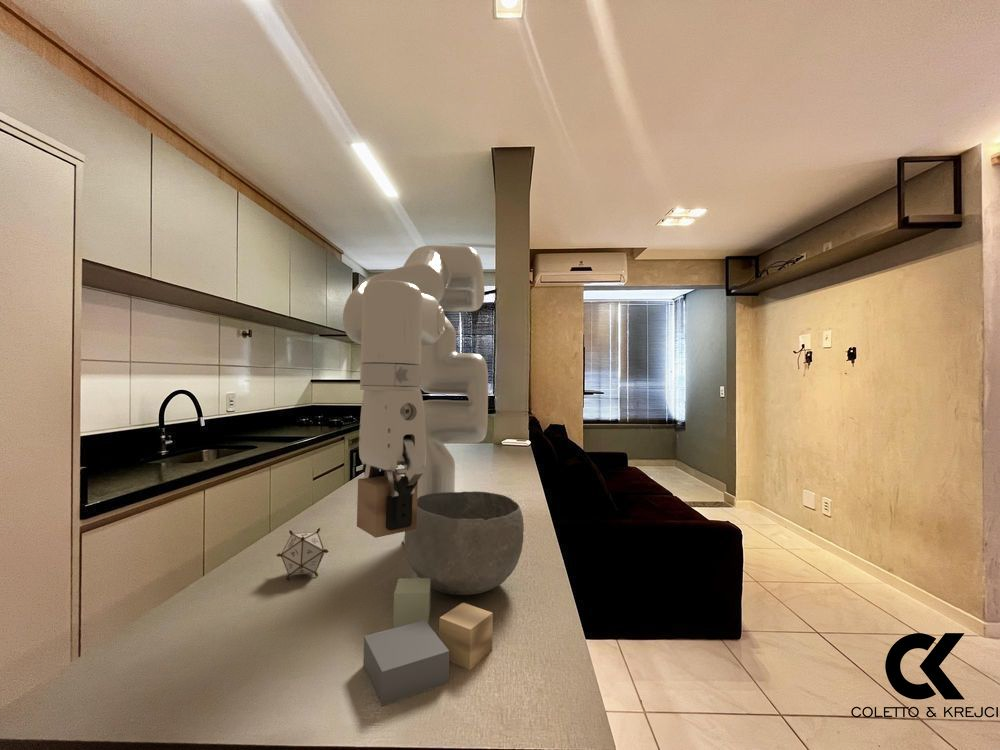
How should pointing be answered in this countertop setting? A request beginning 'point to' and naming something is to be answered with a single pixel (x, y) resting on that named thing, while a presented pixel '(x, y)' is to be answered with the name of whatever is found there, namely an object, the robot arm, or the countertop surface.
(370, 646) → the base block
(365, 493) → the walnut cube
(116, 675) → the countertop surface
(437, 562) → the bowl
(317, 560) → the game die
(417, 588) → the sage cube
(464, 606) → the oak cube
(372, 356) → the robot arm
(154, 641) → the countertop surface
